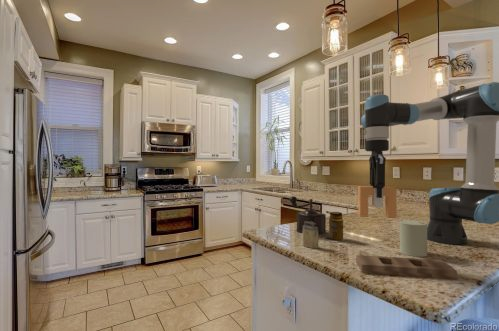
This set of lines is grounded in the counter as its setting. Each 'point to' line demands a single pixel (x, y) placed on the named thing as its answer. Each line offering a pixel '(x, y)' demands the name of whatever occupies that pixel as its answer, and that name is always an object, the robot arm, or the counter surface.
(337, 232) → the condiment
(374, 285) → the counter surface
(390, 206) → the orange block
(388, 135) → the robot arm
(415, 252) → the can
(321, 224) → the manual coffee grinder
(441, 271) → the rail
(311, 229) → the lighter
